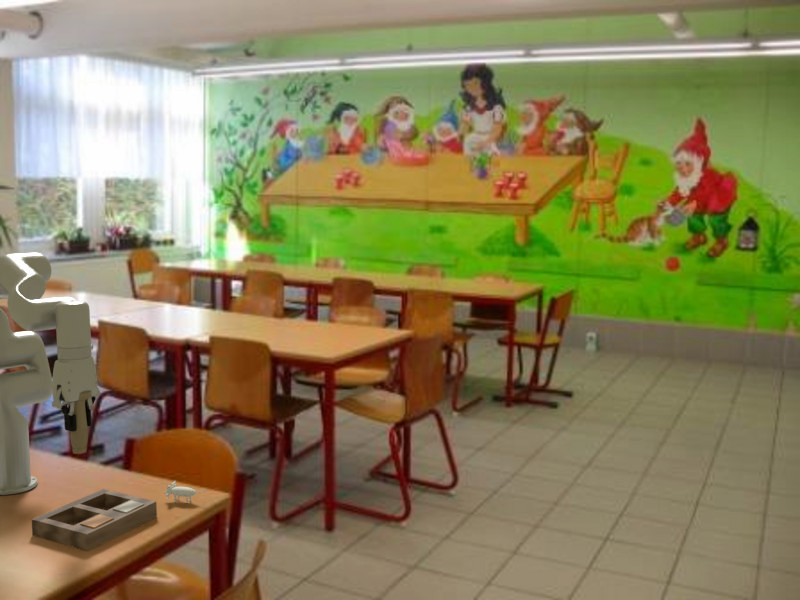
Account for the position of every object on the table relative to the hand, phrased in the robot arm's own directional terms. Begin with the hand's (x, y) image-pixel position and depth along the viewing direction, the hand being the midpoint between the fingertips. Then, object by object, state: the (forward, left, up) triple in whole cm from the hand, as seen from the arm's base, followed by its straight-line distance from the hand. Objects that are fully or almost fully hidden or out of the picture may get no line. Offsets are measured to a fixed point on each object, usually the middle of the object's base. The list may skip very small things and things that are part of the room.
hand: (78, 427), depth 197 cm
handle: (0, 0, -6) cm, 6 cm away
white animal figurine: (+13, +23, -25) cm, 36 cm away
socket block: (+4, +1, -24) cm, 25 cm away
